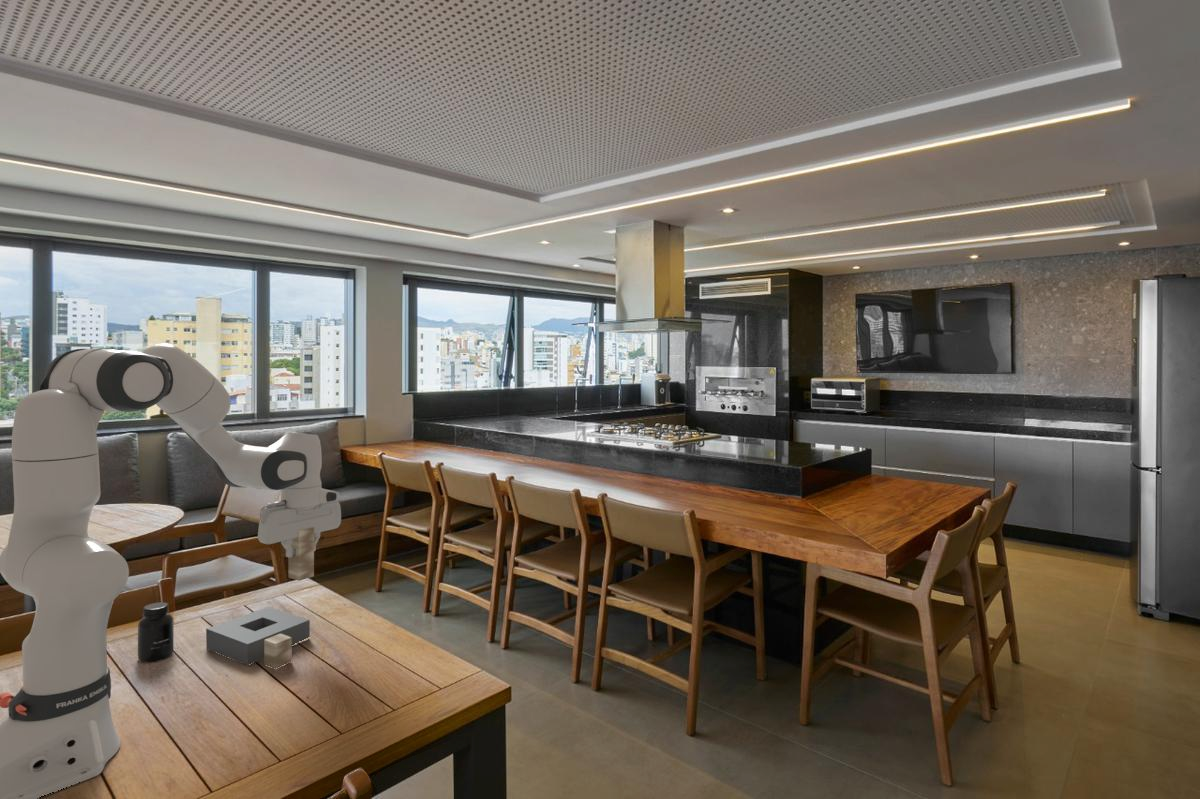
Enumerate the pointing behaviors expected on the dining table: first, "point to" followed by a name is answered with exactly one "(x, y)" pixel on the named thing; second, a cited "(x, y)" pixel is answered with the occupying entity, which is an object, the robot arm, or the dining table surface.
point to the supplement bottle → (155, 633)
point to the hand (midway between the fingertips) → (301, 553)
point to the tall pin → (302, 556)
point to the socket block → (254, 633)
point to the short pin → (277, 650)
